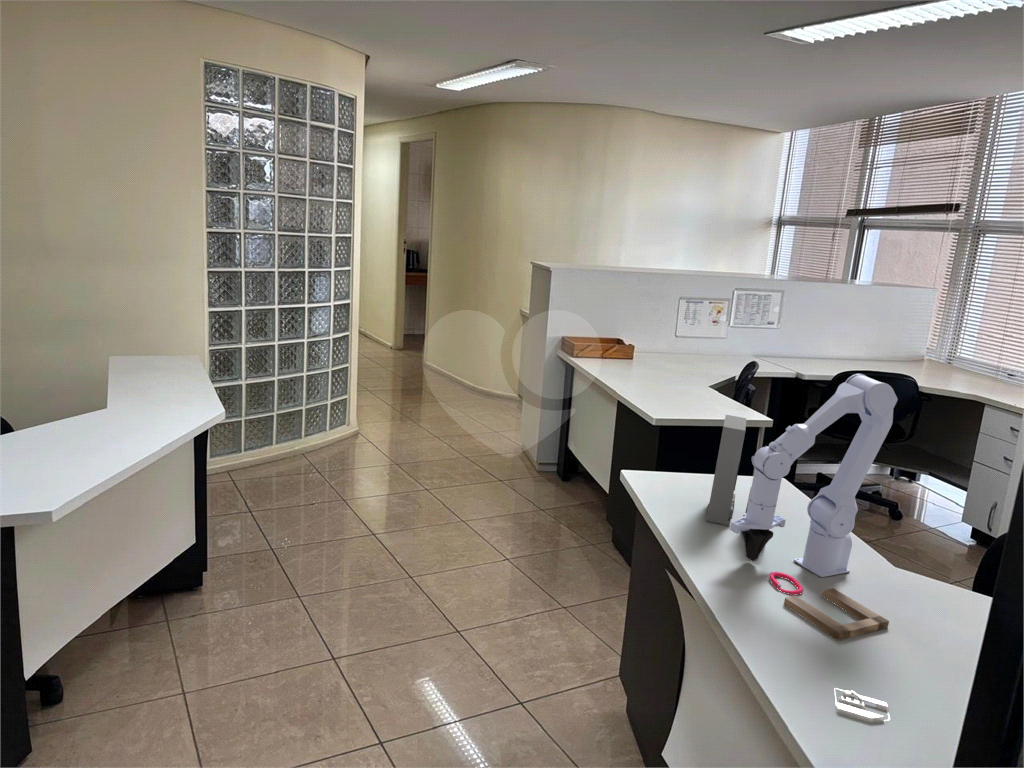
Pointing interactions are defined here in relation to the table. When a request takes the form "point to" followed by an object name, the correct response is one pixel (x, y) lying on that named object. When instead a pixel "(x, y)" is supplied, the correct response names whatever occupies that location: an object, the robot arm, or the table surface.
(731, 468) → the tall grey pillar
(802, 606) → the notched board
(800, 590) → the fitness band
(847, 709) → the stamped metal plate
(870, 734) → the table surface
